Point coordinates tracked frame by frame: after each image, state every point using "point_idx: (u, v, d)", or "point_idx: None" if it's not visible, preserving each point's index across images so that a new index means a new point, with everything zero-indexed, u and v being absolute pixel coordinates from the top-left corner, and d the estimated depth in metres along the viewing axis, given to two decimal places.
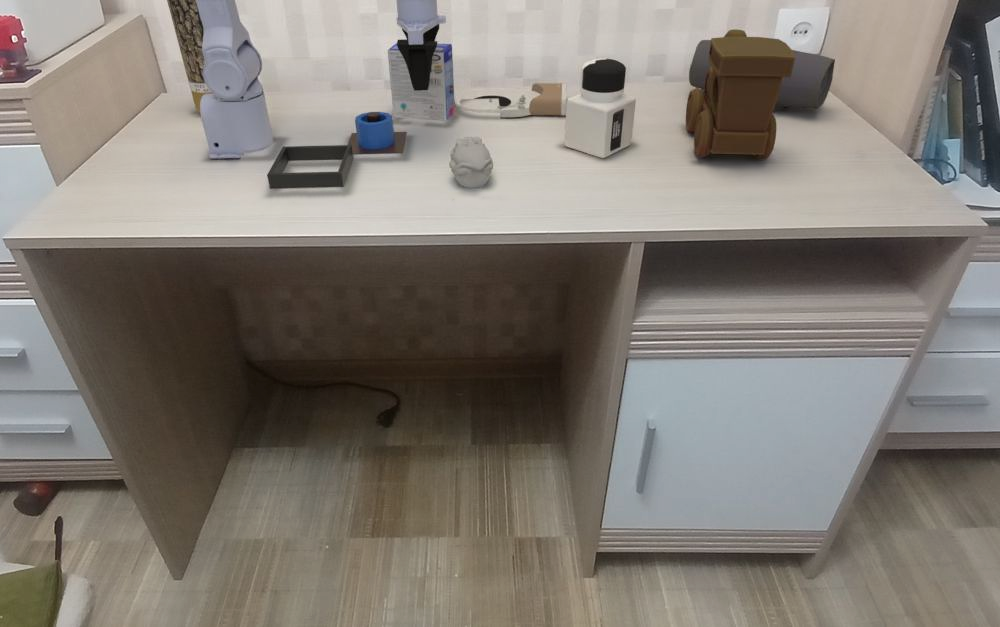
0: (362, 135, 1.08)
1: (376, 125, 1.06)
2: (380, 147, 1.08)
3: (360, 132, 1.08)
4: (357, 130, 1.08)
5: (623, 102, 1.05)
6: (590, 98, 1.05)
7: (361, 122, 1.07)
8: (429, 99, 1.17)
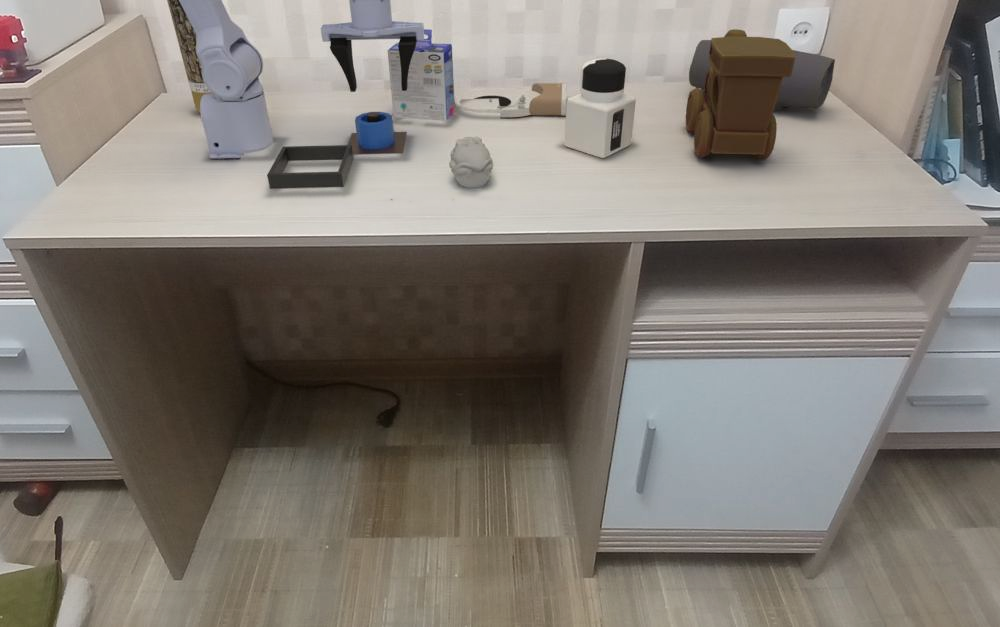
0: (362, 135, 1.08)
1: (376, 125, 1.06)
2: (380, 147, 1.08)
3: (360, 132, 1.08)
4: (357, 130, 1.08)
5: (623, 102, 1.05)
6: (590, 98, 1.05)
7: (361, 122, 1.07)
8: (429, 99, 1.17)
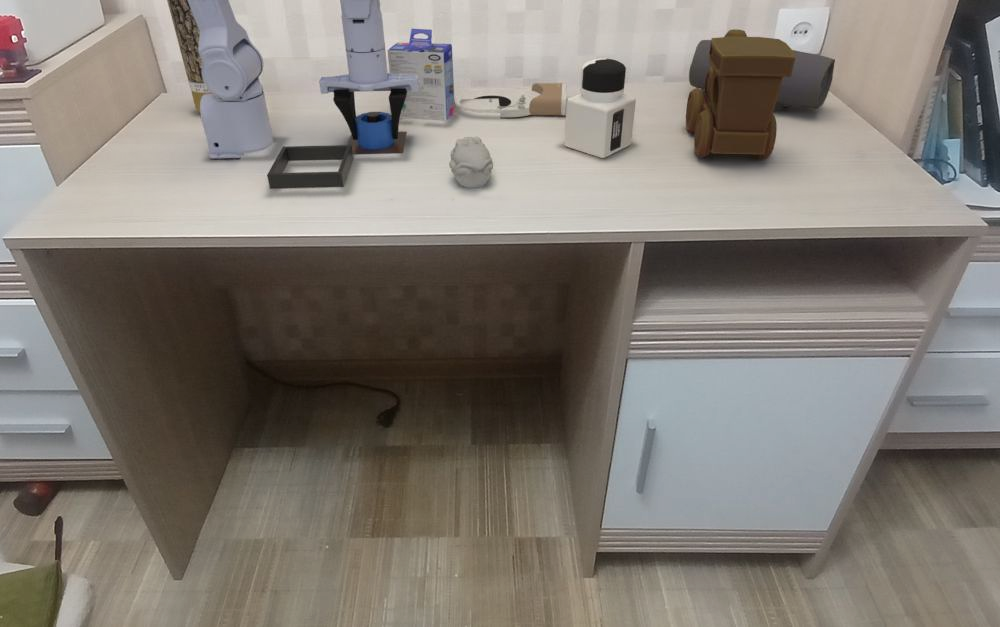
0: (362, 135, 1.08)
1: (376, 125, 1.06)
2: (380, 147, 1.08)
3: (360, 132, 1.08)
4: (357, 130, 1.08)
5: (623, 102, 1.05)
6: (590, 98, 1.05)
7: (361, 122, 1.07)
8: (429, 99, 1.17)
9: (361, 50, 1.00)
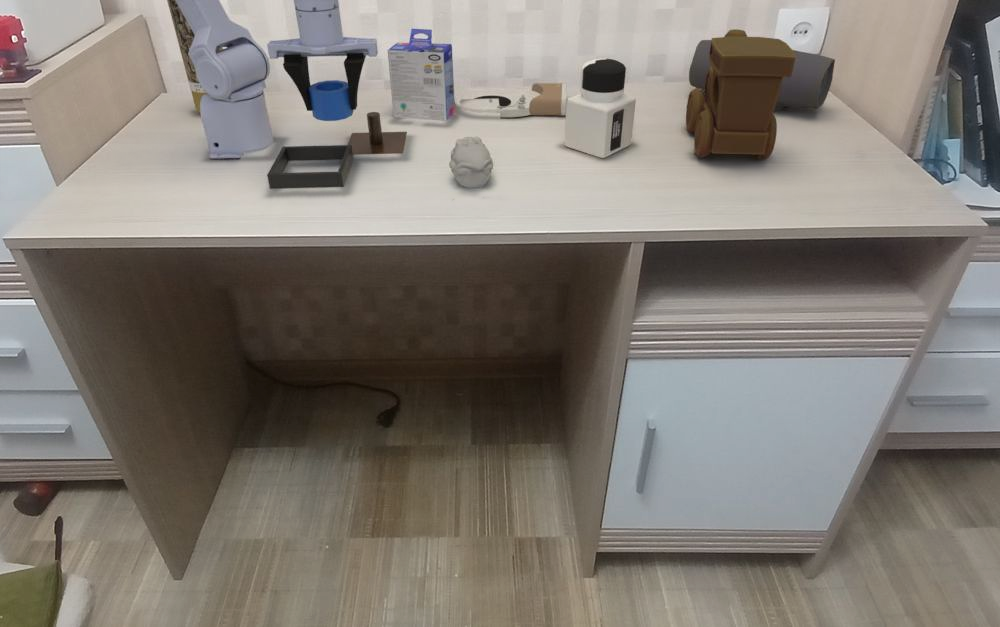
0: (316, 105, 0.98)
1: (332, 93, 0.97)
2: (336, 118, 0.99)
3: (314, 102, 0.98)
4: (311, 100, 0.99)
5: (623, 102, 1.05)
6: (590, 98, 1.05)
7: (315, 90, 0.98)
8: (429, 99, 1.17)
9: (303, 8, 0.91)
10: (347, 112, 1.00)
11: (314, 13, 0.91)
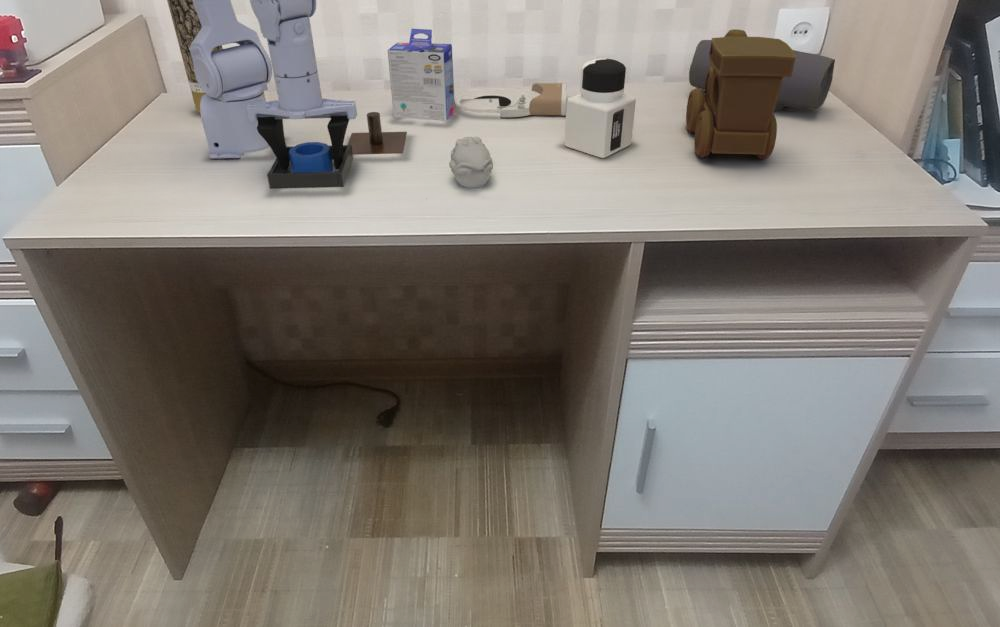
0: (296, 168, 0.99)
1: (311, 158, 0.98)
2: None
3: (294, 165, 0.99)
4: (291, 163, 1.00)
5: (623, 102, 1.05)
6: (590, 98, 1.05)
7: (295, 154, 0.98)
8: (429, 99, 1.17)
9: (276, 73, 0.92)
10: None
11: (292, 79, 0.91)
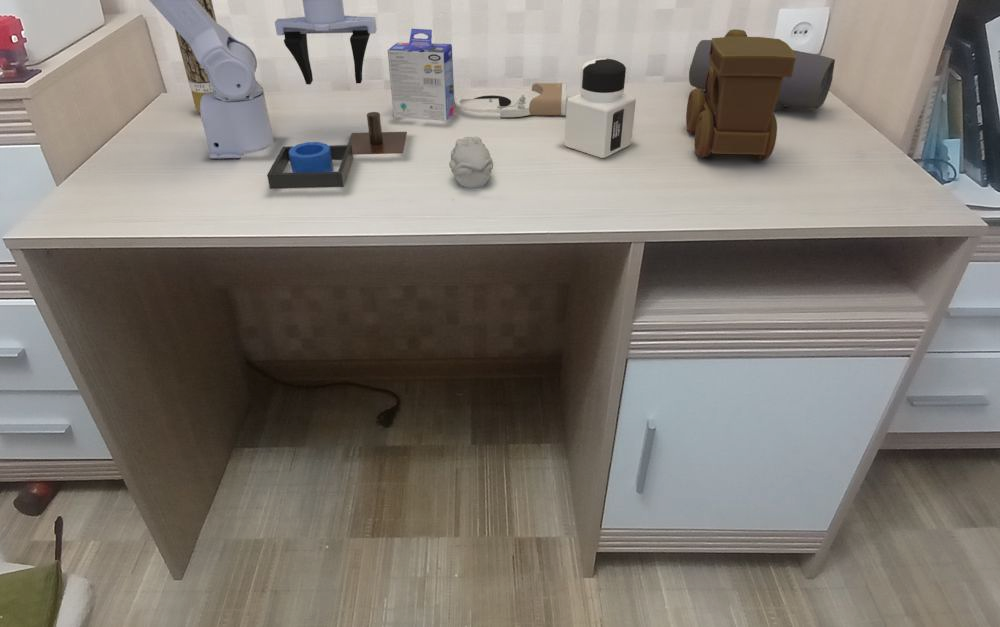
0: (296, 168, 0.99)
1: (311, 158, 0.98)
2: None
3: (294, 165, 0.99)
4: (291, 163, 1.00)
5: (623, 102, 1.05)
6: (590, 98, 1.05)
7: (295, 154, 0.98)
8: (429, 99, 1.17)
9: None
10: None
11: None
